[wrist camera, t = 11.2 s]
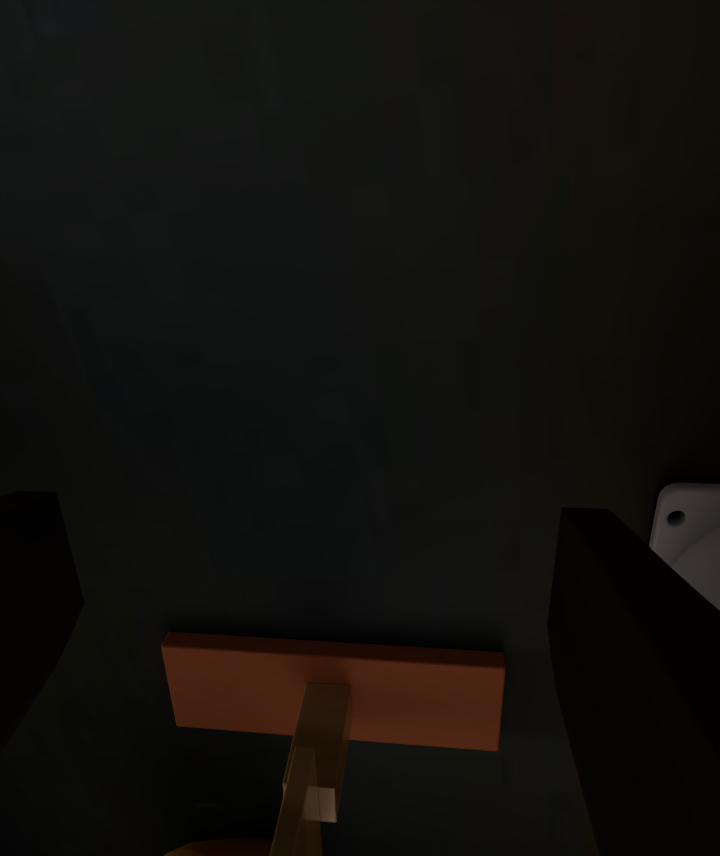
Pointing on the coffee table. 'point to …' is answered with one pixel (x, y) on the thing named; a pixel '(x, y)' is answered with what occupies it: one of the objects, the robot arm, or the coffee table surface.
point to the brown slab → (314, 770)
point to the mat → (341, 665)
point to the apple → (226, 847)
